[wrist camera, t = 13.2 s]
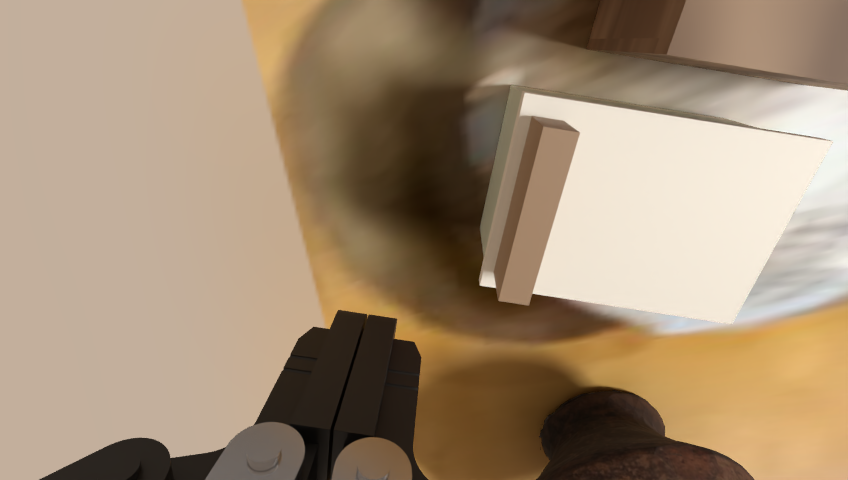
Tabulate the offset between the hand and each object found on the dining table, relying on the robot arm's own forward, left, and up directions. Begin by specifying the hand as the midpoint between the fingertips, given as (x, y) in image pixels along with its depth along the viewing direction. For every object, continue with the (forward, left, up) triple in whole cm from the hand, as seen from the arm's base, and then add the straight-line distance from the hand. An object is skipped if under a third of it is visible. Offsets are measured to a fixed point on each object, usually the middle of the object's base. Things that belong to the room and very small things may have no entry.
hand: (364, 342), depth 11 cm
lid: (-13, 0, -14) cm, 19 cm away
